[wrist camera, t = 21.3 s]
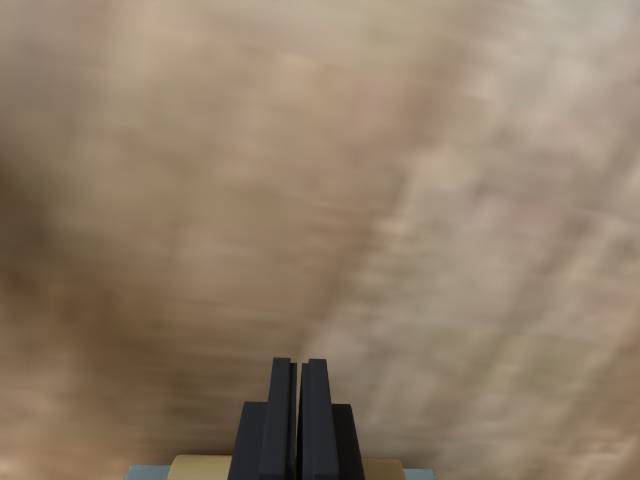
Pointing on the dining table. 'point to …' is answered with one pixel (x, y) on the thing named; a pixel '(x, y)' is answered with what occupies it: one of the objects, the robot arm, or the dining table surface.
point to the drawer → (212, 470)
